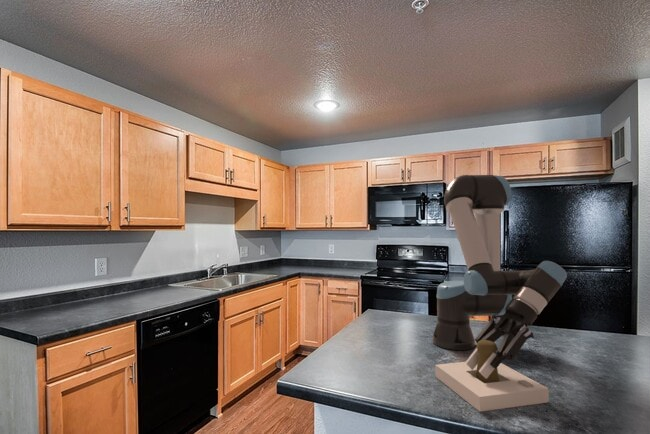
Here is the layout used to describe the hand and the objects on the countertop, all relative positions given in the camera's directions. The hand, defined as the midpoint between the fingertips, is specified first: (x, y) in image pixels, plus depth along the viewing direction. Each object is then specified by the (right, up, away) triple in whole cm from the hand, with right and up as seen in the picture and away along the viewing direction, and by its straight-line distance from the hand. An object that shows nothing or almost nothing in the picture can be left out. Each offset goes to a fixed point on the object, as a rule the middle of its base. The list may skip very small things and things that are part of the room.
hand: (475, 370), depth 94 cm
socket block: (+4, -5, +1) cm, 6 cm away
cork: (+4, -4, +1) cm, 5 cm away
